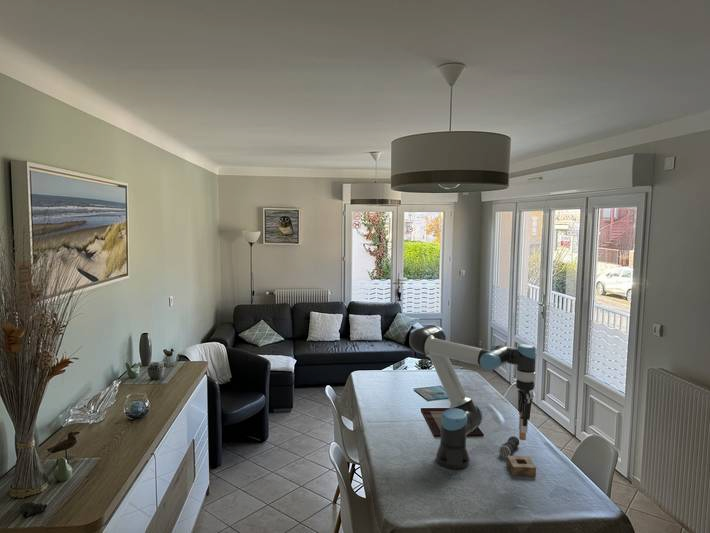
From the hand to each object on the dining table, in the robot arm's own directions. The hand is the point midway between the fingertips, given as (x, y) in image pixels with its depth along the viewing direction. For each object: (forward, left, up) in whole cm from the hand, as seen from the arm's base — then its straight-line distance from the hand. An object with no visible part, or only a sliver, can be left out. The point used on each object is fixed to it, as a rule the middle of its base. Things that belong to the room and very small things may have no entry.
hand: (523, 430), depth 212 cm
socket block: (0, 0, -19) cm, 19 cm away
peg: (0, 0, -4) cm, 4 cm away
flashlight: (0, +18, -19) cm, 26 cm away
